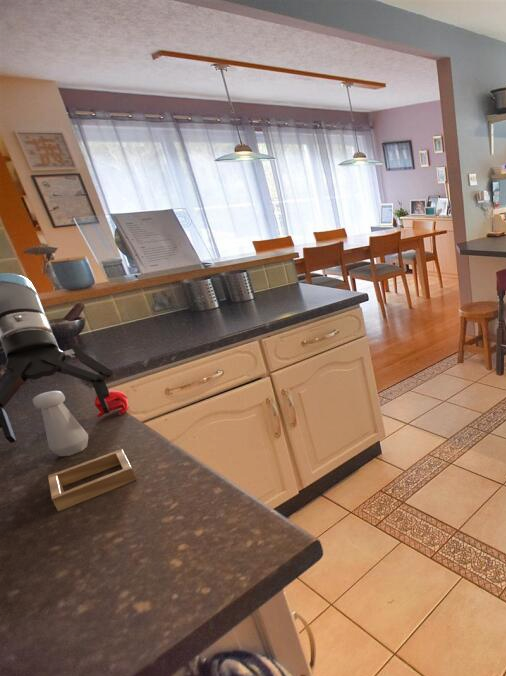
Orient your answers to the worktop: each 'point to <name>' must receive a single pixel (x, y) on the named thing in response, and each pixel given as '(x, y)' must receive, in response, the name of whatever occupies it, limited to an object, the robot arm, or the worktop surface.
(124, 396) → the cap
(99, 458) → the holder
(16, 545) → the worktop surface
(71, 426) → the salt shaker
